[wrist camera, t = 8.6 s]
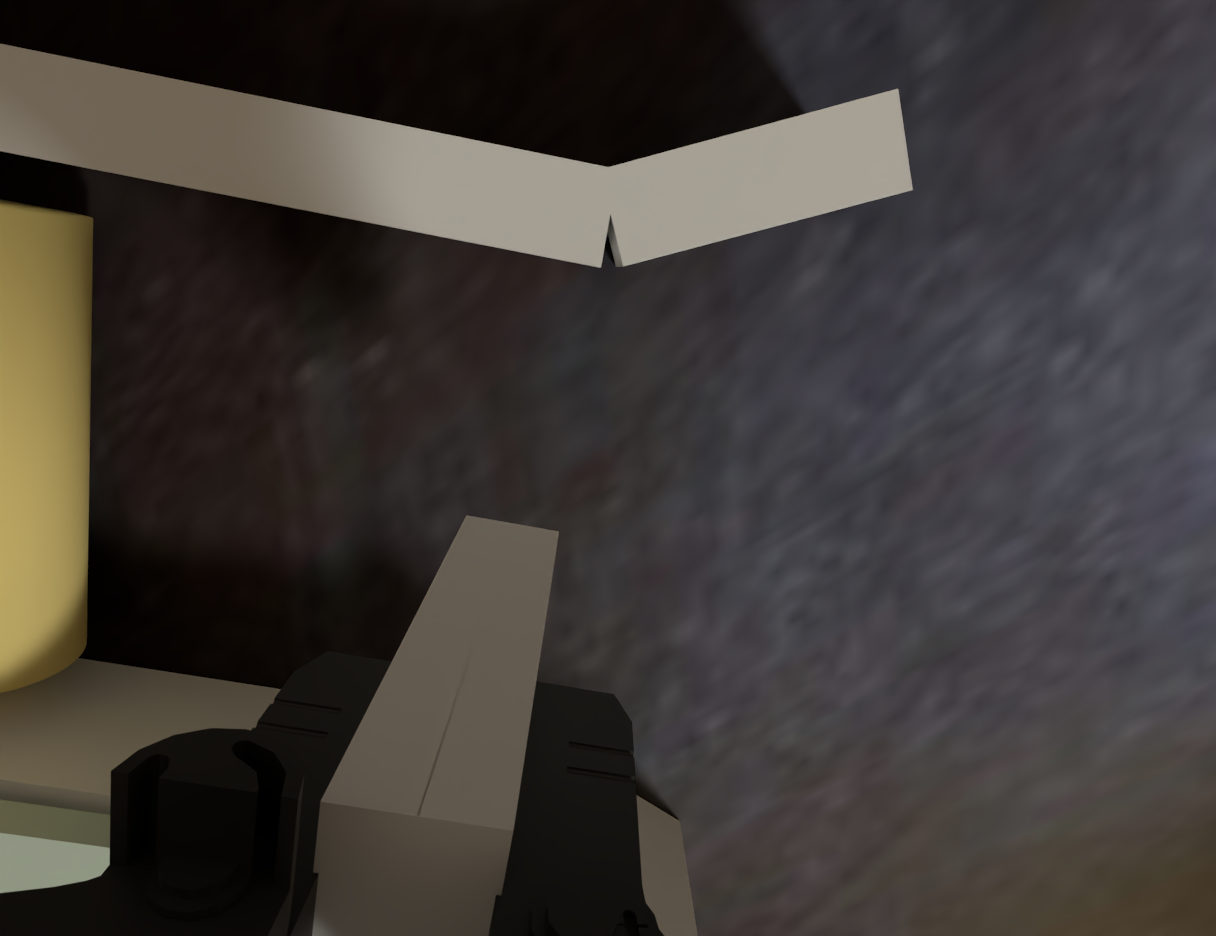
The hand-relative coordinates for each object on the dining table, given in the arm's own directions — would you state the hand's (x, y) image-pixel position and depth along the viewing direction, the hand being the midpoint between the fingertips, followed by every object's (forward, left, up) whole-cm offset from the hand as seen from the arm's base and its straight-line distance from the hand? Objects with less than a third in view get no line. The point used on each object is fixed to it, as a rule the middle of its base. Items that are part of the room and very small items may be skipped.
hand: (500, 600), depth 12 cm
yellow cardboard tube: (+1, -13, -6) cm, 15 cm away
